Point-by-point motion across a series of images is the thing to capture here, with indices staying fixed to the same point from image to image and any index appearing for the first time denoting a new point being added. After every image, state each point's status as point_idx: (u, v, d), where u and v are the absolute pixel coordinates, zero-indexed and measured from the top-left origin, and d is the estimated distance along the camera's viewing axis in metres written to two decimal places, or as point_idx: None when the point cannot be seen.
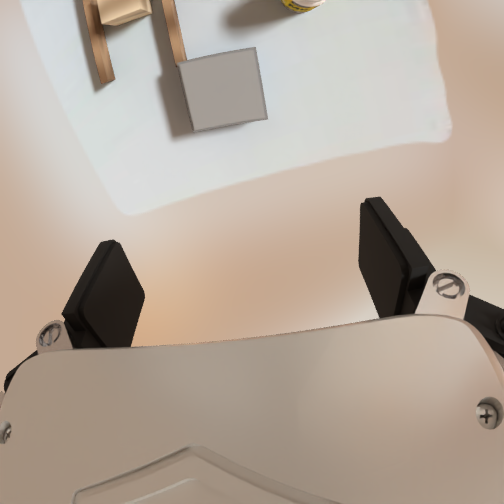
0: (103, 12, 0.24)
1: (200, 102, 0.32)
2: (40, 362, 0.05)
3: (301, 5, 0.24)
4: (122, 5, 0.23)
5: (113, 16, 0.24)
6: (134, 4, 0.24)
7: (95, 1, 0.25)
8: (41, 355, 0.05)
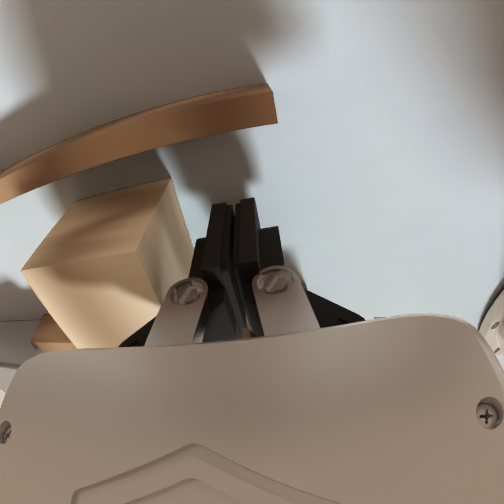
0: (53, 277, 0.09)
1: (2, 376, 0.16)
2: (40, 362, 0.05)
3: None
4: (84, 326, 0.10)
5: (48, 302, 0.09)
6: None
7: None
8: (41, 355, 0.05)
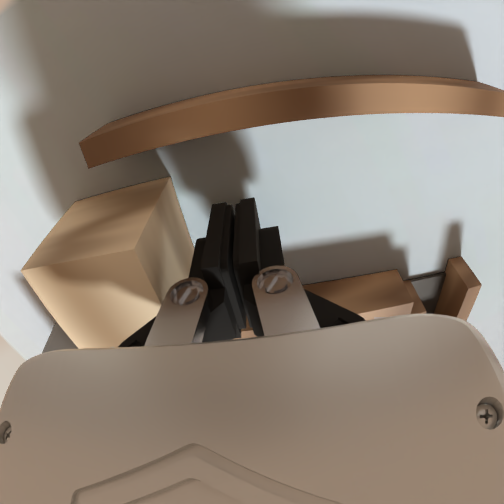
0: (53, 277, 0.09)
1: None
2: (40, 362, 0.05)
3: None
4: (84, 325, 0.10)
5: (48, 302, 0.10)
6: None
7: None
8: (41, 355, 0.05)
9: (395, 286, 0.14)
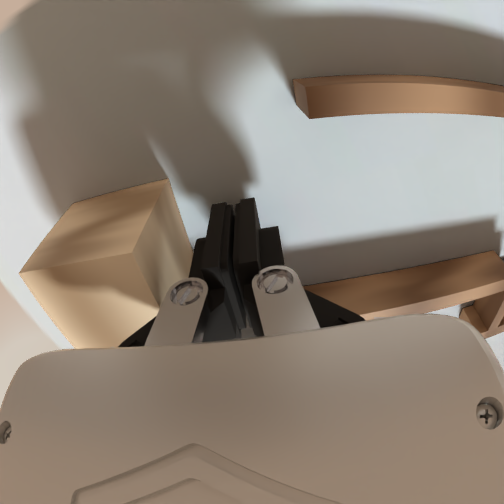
0: (51, 280, 0.09)
1: None
2: (40, 362, 0.05)
3: None
4: (83, 328, 0.10)
5: (46, 305, 0.09)
6: None
7: None
8: (41, 355, 0.05)
9: (498, 264, 0.14)
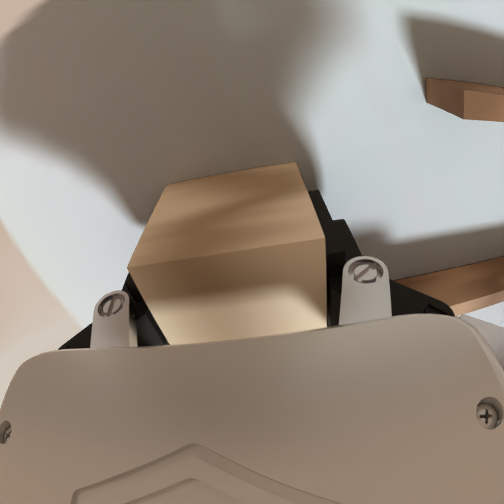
0: (184, 275, 0.08)
1: None
2: (40, 362, 0.05)
3: None
4: (206, 335, 0.09)
5: (160, 308, 0.08)
6: None
7: None
8: (41, 355, 0.05)
9: None
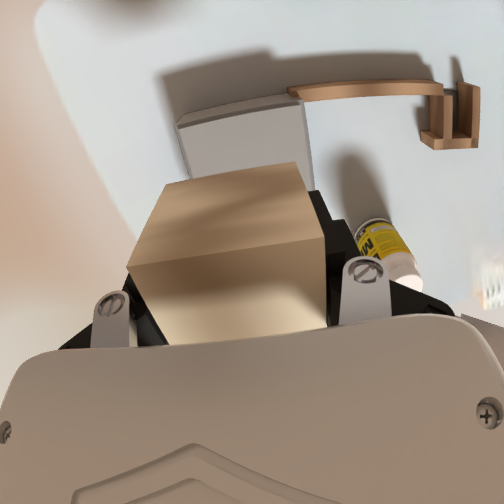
0: (183, 274, 0.08)
1: (229, 137, 0.20)
2: (40, 362, 0.05)
3: None
4: (205, 334, 0.09)
5: (159, 308, 0.08)
6: None
7: None
8: (41, 355, 0.05)
9: (430, 81, 0.20)
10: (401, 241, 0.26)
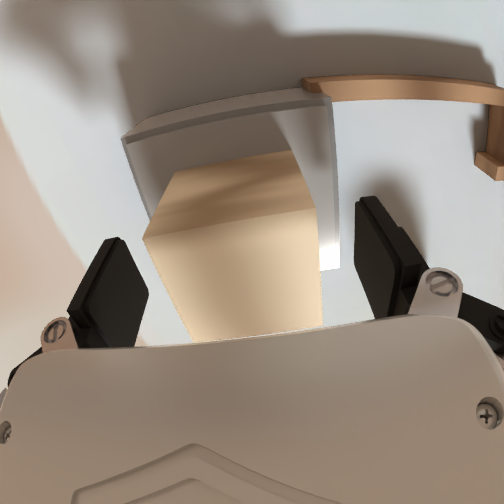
0: (193, 244, 0.09)
1: (206, 157, 0.12)
2: (40, 362, 0.05)
3: None
4: (212, 303, 0.10)
5: (171, 277, 0.10)
6: (210, 330, 0.11)
7: None
8: (41, 355, 0.05)
9: (495, 86, 0.12)
10: None
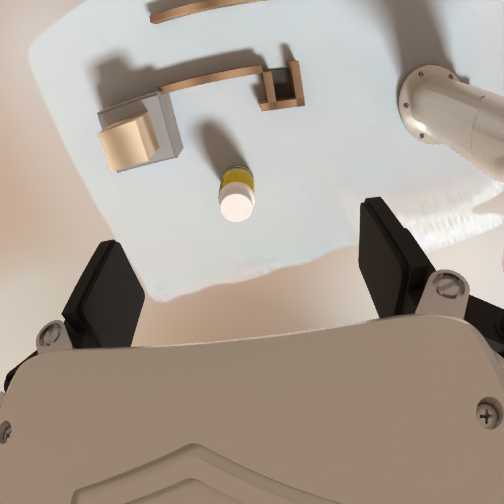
0: (109, 133, 0.30)
1: (123, 117, 0.34)
2: (40, 362, 0.05)
3: (219, 194, 0.39)
4: (115, 153, 0.32)
5: (104, 145, 0.31)
6: (115, 165, 0.32)
7: (252, 1, 0.28)
8: (41, 355, 0.05)
9: (256, 65, 0.33)
10: (244, 177, 0.40)
